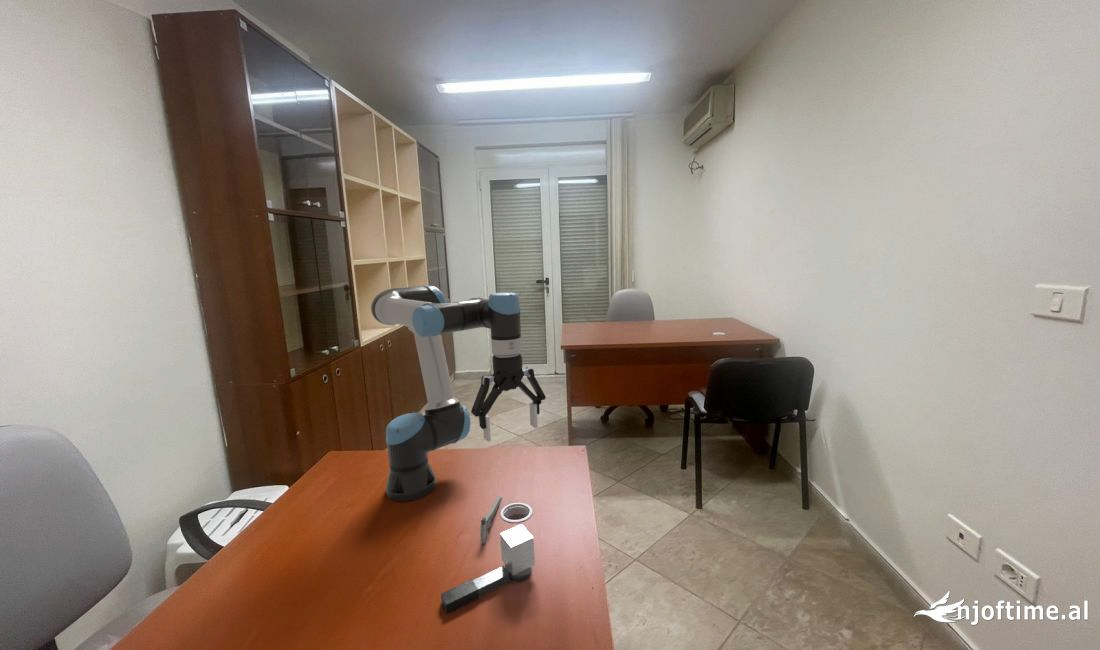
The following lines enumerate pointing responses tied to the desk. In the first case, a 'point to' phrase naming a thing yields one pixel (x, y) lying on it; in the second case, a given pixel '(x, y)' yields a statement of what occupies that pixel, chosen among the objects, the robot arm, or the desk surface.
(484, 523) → the caliper
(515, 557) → the plain grey cube
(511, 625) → the desk surface
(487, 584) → the ratchet
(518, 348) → the robot arm
